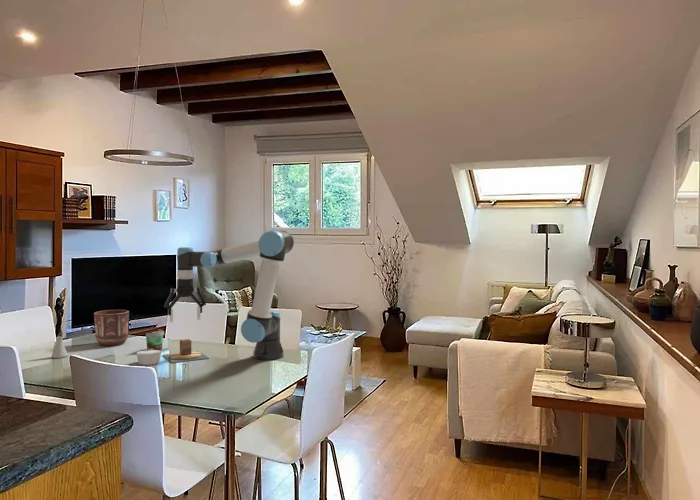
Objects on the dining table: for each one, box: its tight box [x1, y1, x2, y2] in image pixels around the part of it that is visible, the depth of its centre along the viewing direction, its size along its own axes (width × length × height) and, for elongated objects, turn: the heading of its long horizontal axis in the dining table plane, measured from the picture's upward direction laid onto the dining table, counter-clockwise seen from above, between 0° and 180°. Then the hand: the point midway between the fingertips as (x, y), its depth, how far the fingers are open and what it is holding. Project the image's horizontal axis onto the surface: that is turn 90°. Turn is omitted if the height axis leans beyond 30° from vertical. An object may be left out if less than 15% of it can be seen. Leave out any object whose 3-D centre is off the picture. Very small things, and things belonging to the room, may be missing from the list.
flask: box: [51, 336, 69, 359], centre depth 270 cm, size 7×7×10 cm
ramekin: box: [136, 349, 162, 366], centre depth 259 cm, size 11×11×5 cm
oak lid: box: [169, 338, 202, 360], centre depth 271 cm, size 15×15×8 cm
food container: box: [145, 328, 165, 351], centre depth 286 cm, size 12×6×10 cm, turn 168°
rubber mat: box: [162, 350, 210, 364], centre depth 271 cm, size 18×18×1 cm
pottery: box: [93, 309, 130, 347], centre depth 300 cm, size 18×18×18 cm
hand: (185, 320), depth 270 cm, fingers open, 13 cm apart
